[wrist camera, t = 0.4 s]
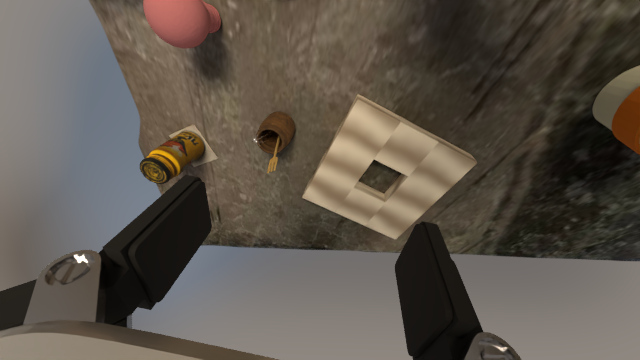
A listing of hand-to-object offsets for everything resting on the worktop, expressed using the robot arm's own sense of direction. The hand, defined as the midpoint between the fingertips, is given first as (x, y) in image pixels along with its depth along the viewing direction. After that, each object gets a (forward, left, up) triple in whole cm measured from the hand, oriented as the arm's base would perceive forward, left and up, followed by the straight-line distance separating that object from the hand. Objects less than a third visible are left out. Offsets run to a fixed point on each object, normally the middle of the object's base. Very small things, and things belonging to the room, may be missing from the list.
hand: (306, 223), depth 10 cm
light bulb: (+2, -23, -35) cm, 42 cm away
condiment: (+28, -23, -35) cm, 50 cm away
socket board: (+14, +15, -35) cm, 41 cm away
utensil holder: (+14, -7, -35) cm, 38 cm away
